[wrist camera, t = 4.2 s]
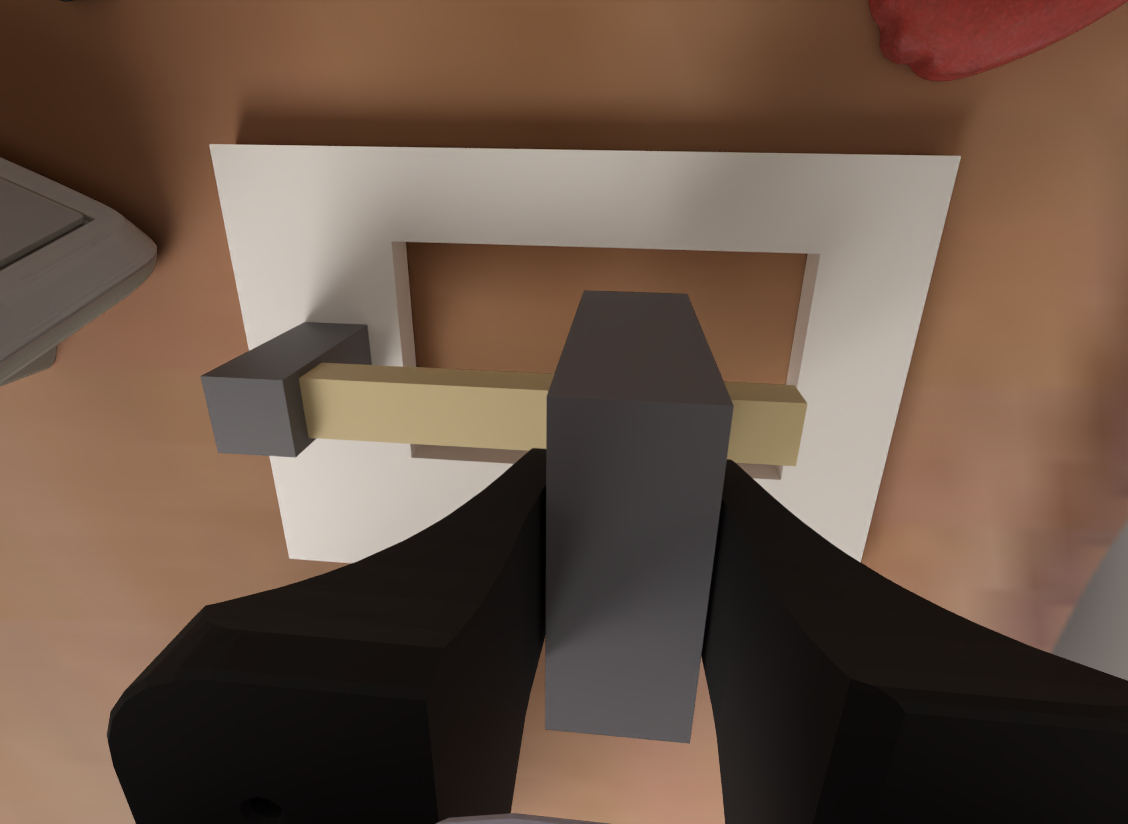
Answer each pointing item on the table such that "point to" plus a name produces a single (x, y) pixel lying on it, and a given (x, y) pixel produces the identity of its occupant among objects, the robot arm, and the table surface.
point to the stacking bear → (976, 31)
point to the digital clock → (58, 266)
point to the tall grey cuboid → (631, 515)
